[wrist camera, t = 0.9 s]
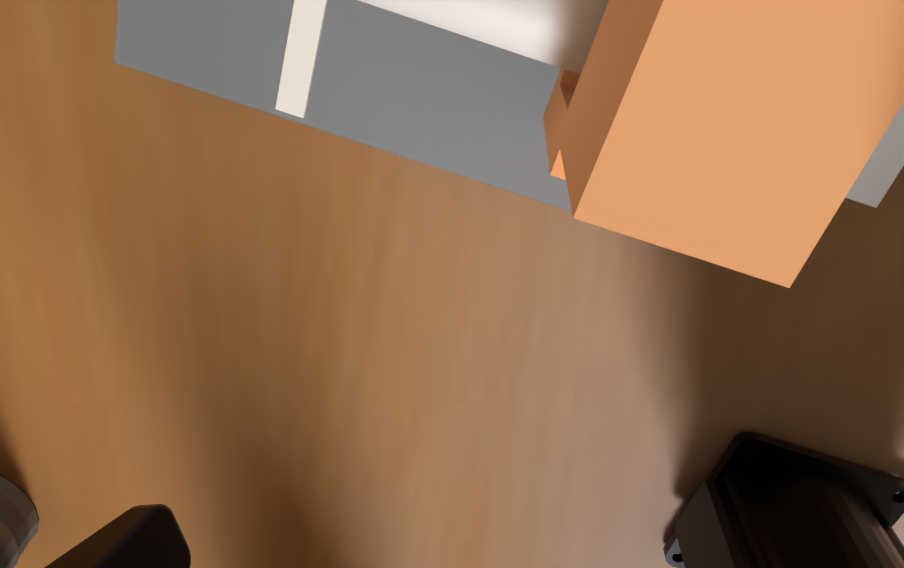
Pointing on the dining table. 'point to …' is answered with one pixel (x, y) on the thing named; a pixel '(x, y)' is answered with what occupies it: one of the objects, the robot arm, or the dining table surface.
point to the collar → (727, 123)
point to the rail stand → (403, 75)
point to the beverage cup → (15, 523)
